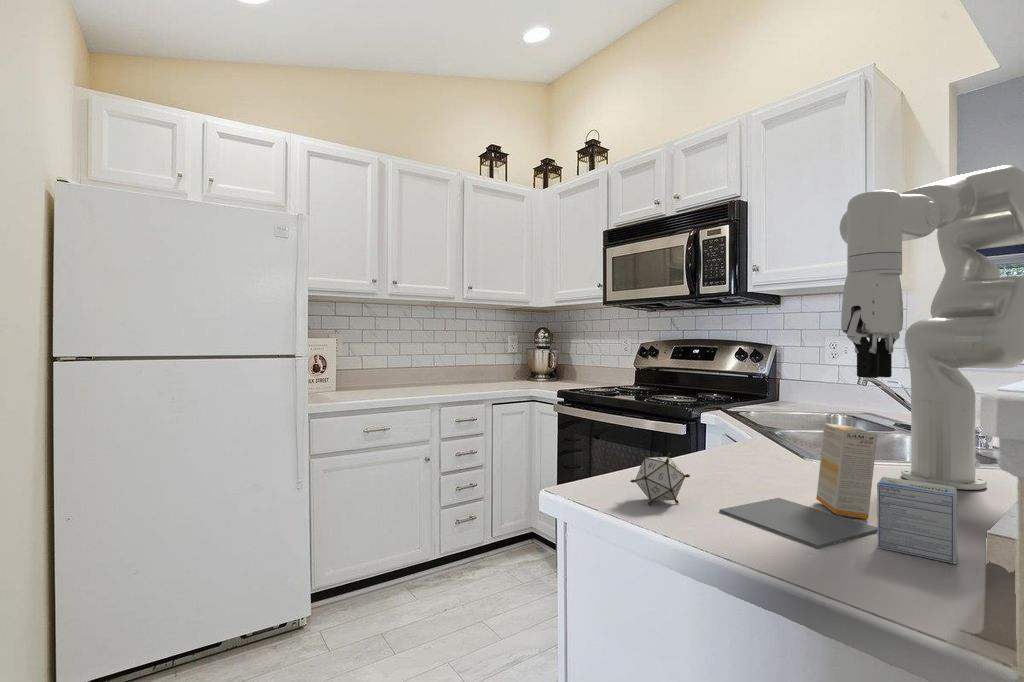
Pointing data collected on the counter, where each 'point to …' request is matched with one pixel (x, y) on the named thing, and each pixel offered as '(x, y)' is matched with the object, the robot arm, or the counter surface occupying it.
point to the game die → (659, 478)
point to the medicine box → (917, 518)
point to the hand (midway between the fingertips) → (874, 376)
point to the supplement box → (846, 470)
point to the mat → (800, 522)
